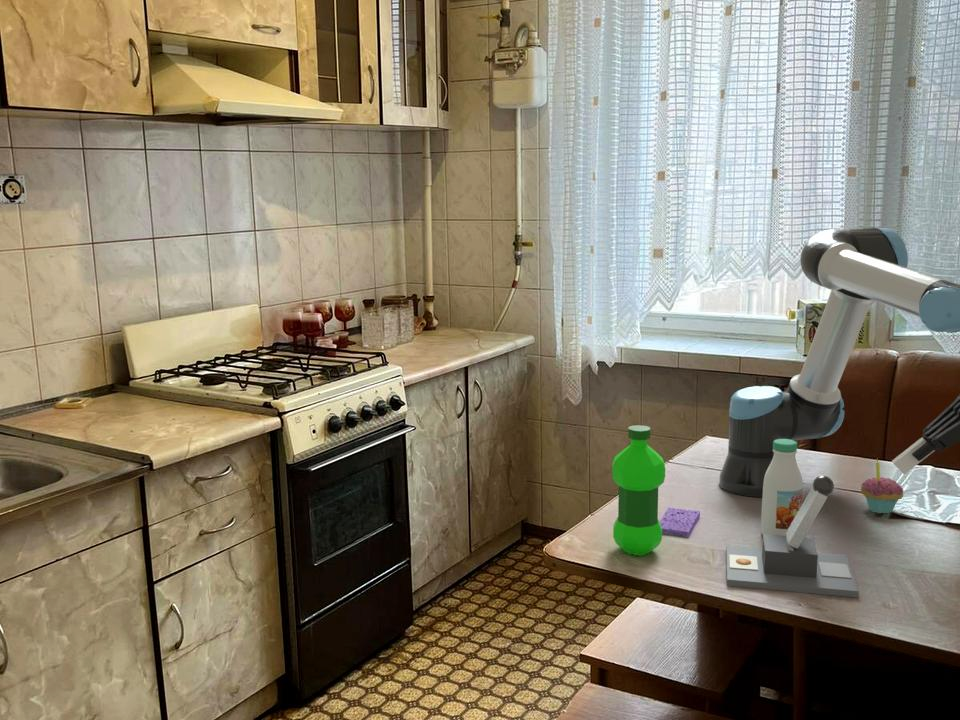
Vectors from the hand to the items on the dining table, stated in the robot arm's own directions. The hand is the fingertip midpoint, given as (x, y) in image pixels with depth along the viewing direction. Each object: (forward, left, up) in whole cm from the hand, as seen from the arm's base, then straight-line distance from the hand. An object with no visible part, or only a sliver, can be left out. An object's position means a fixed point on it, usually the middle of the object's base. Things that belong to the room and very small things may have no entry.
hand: (898, 467), depth 160 cm
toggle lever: (-9, -15, -16) cm, 24 cm away
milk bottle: (-25, -6, -22) cm, 34 cm away
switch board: (-9, -15, -22) cm, 28 cm away
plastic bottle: (-27, -37, -22) cm, 51 cm away
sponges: (-37, -23, -22) cm, 49 cm away
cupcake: (-31, +23, -22) cm, 44 cm away
